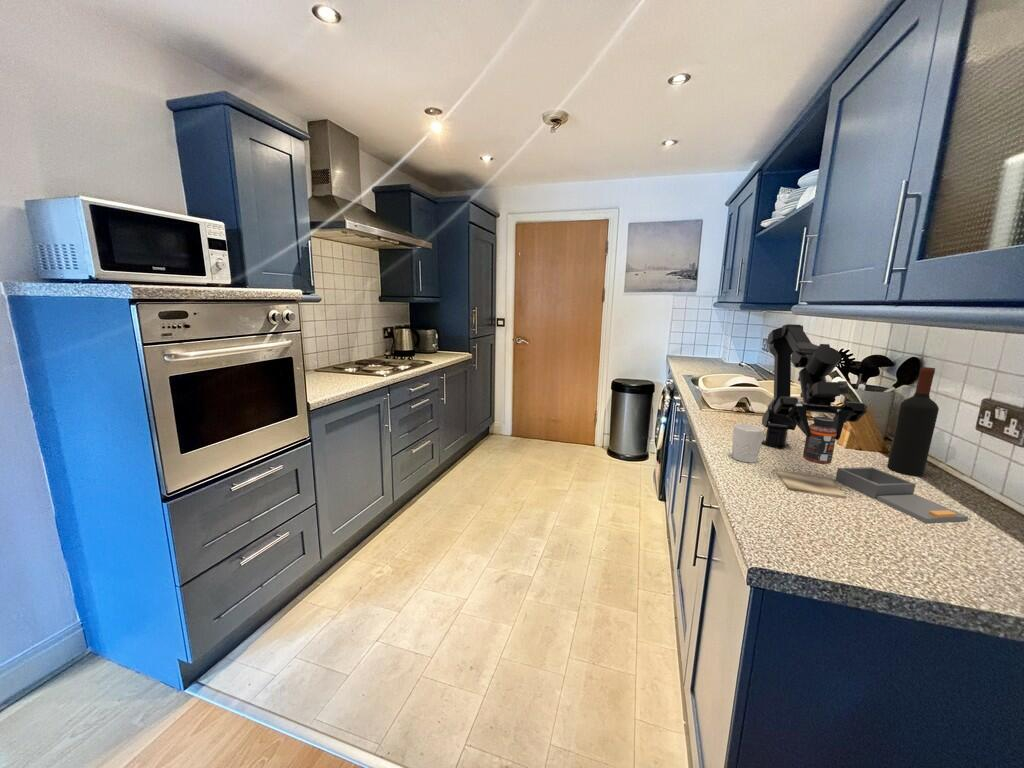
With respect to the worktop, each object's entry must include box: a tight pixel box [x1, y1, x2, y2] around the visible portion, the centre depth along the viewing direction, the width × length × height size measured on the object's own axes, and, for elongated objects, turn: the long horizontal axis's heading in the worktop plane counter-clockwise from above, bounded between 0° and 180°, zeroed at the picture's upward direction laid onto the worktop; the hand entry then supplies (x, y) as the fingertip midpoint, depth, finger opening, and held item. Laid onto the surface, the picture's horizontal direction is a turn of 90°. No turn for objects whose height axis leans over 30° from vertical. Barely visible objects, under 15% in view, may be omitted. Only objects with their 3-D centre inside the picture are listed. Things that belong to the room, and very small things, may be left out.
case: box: [835, 466, 969, 524], centre depth 98 cm, size 22×11×4 cm, turn 7°
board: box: [775, 469, 847, 499], centre depth 105 cm, size 12×12×1 cm
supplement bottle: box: [802, 416, 837, 465], centre depth 103 cm, size 6×6×11 cm
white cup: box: [731, 423, 765, 464], centre depth 121 cm, size 8×8×10 cm
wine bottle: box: [886, 366, 940, 477], centre depth 113 cm, size 8×8×30 cm
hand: (823, 437), depth 101 cm, fingers closed on supplement bottle, 6 cm apart
